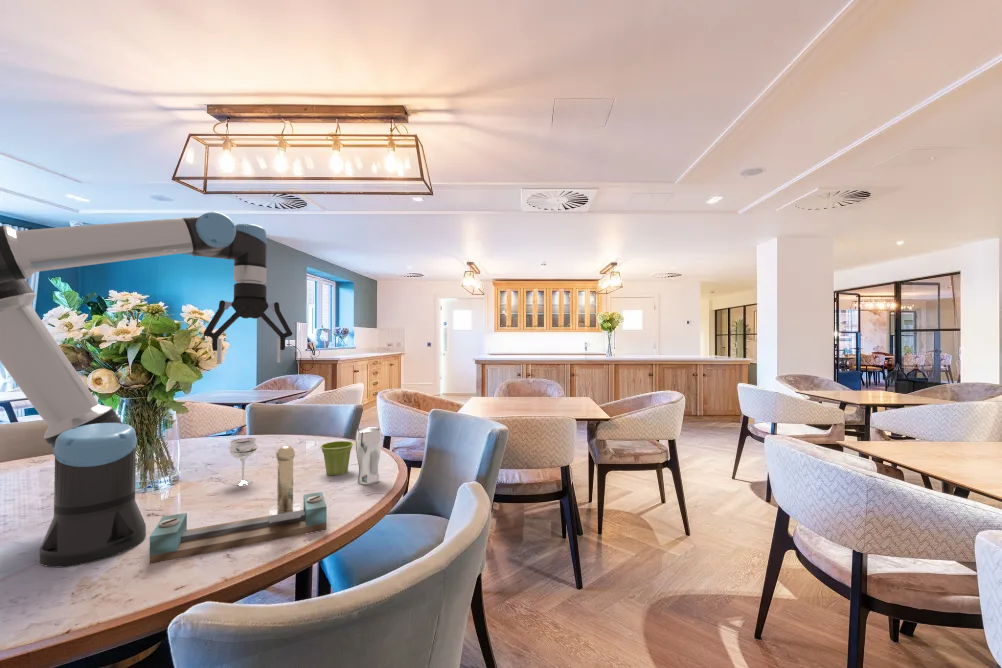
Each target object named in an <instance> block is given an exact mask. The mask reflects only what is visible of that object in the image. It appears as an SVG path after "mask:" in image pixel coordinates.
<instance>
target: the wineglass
mask: <svg viewBox="0 0 1002 668" xmlns="http://www.w3.org/2000/svg"><path fill="white" fill-rule="evenodd" d="M256 441H257V438H254V437H245V438H243V437H242V438H237V439H233V440H230V441H229V444H230V445H229V453H230V455H231V456H232V457H233V458H235V459H238V460H239V461H240V462H241V477H242V478H241V480H238V481H234V482H233V483H232V485H233V484H234V485H233V486H236V485H239V486H244V485H243V484H246V485H248V484H247V483H250V482H252V479H245V464H246V463H245V462H246V460H247V459H248V458H250V457H251V456H253V454H254V453H256V451H257V448H258V447H257V446H258V445H257V442H256ZM252 483H253V482H252ZM250 484H251V483H250Z"/></svg>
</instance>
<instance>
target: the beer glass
mask: <svg viewBox="0 0 1002 668" xmlns="http://www.w3.org/2000/svg"><path fill="white" fill-rule="evenodd" d="M355 438H356V439H355V451H356V452H355V453H356V458H357V465H358V477H357V484H358V483H359V485H360V484H363V485H362V486H368V485H367V484H371V485H375V484H378V483H379V482H380V474H379V462H380V457H381V456H380V455H381V451H382V433H381V428H380V427H376V426H375V427H373V426H371V427H362V428H358V429H357V430H356V436H355Z"/></svg>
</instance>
